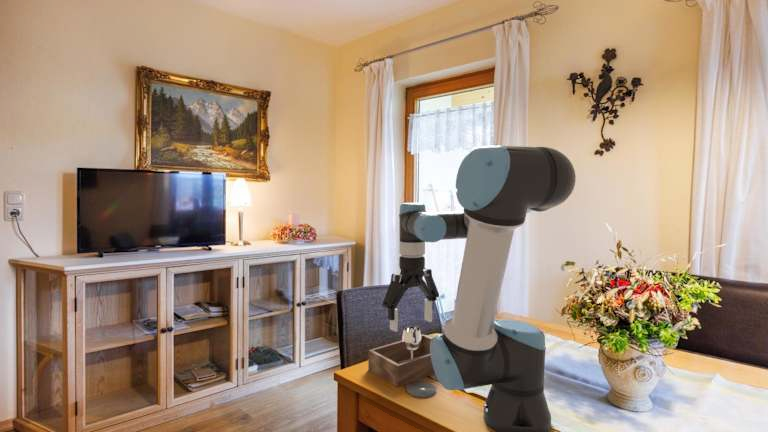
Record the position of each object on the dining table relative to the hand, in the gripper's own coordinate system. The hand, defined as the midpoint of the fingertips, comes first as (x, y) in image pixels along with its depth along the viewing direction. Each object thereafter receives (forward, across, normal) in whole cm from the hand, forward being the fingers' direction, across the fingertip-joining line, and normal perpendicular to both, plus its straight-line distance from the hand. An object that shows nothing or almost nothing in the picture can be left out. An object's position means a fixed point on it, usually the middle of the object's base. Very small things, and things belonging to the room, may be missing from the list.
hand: (411, 325), depth 130 cm
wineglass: (+13, 0, 0) cm, 13 cm away
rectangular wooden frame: (+13, 0, 0) cm, 13 cm away
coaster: (+13, +7, +12) cm, 19 cm away
